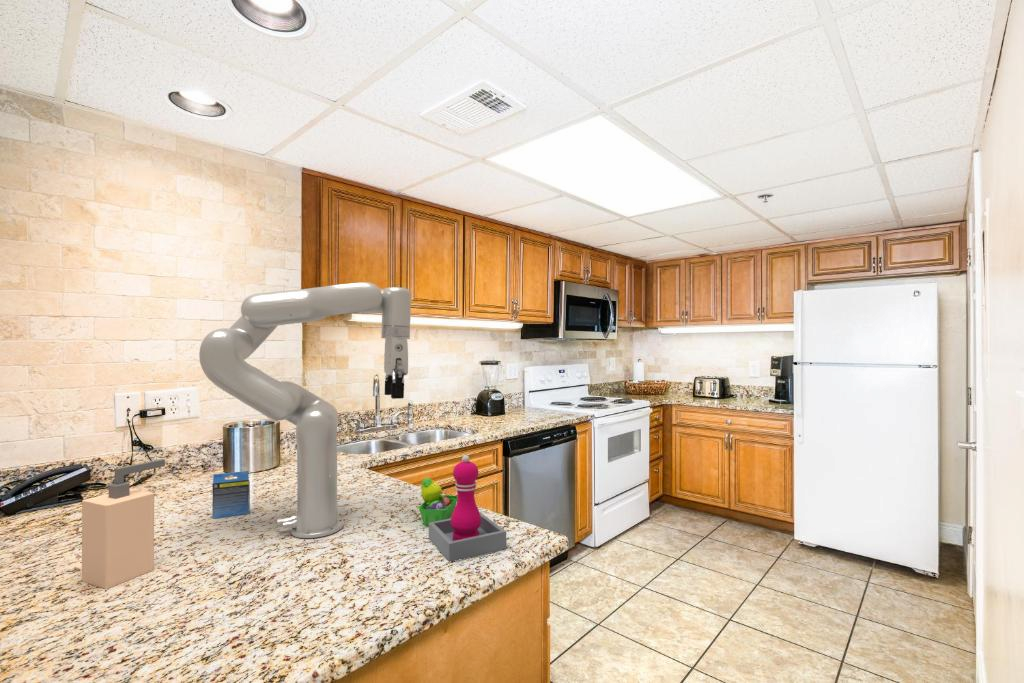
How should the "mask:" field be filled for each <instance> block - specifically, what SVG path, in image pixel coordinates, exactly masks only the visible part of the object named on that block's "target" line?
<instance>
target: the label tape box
mask: <svg viewBox="0 0 1024 683" xmlns="http://www.w3.org/2000/svg"><path fill="white" fill-rule="evenodd" d="M249 474H250V473H249V470H246V471H244V470H243V471H233V472H223V473H213V474H212V497H211V498H212V503H211V504H212V510H211V511H212V512H211V513H212V517H211V518H212V519H213V520H214V519H215V520H216V519H224V518H228V517H235V516H243V515H249V514H250V508H251V505H250V504H251V502H250V501H251V500H250V499H251V486H250V479H249V477H250V475H249ZM231 476H232V477H236V478H230V477H231ZM226 478H227V479H226ZM229 478H230V479H229Z"/></svg>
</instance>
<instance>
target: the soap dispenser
mask: <svg viewBox="0 0 1024 683" xmlns="http://www.w3.org/2000/svg"><path fill="white" fill-rule="evenodd" d="M165 466H166V460H165V459H164V458H160V459H155V460H151V461H150V460H149V461H145V462H141V463H135V464H130V465H126V466H122V467H118V468H114V480H113V481H114V482H113V483H110V484H108V493H105V494H102V495H98V496H94V497H89V498H86V499H82V501H81V510H82V511H81V582H82V583H83V582H84V583H86V584H89V585H93V586H96V587H99V588H101V589H103V590H104V589H105V590H108V589H111V588H113V587H115V586H118V585H120V584H123V583H126V582H127V581H130V580H133V579H135V578H138V577H140V576H142V575H144V574H147V573H150V572H152V571H154V570H155V492H151V491H145V490H142V489H141V490H140V489H135V488H130V482H126V481H125V480H124V479H125V476H127V475H132V474H136V473H141V472H145V471H149V470H154V469H158V468H159V469H160V468H163V467H165Z"/></svg>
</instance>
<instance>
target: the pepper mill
mask: <svg viewBox="0 0 1024 683" xmlns="http://www.w3.org/2000/svg"><path fill="white" fill-rule="evenodd" d="M461 460H462V461H460V462H458V463H457V464H456V465H455V466H454V467H453V471H452V473H453V474H452V476H453V479H454V480H455V481H456V482H455V483H454V485H455V488H454V489H455V490H456V492H457V496H458V497H457V502H456V506H455V509H454V511H453V513H452V516H451V518H450V519H451V526H452V528H453V529H454V530H455V531H454V532H453V541H456V540H461V539H465V538H470V537H474V536H479V531H478V530H477V529H478V528H479V527H480V525H481V516H480V513H481V512H480V511H479V508H478V506H477V504H476V501H475V491H476V489H477V481H476V480H477V479H478V477H479V468H478V466H477V464H475V463H474V462H472V461H470V456H469V455H466V454H464V455H462V458H461Z"/></svg>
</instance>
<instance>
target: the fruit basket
mask: <svg viewBox="0 0 1024 683" xmlns="http://www.w3.org/2000/svg"><path fill="white" fill-rule="evenodd" d="M420 489H421V491H420V492H421V498H422V500H423V502H422V504H420V505H419V506H418V510H419V512H420V515H421V520H422V522H423V523H422V524H423V525H426V526H425V527H429V523H430V522H435V521H440V520H445V519H451V516H452V513H453V511H454V509H455V506H456V504H457V497H458V495H453V494H452V495H449V494H448V495H447V494H441V493H442V492H443V490H442V487H441V486H440V485H439V483H436V482H435V480H433V479H431V478H430V477H427V478H423V479H422V481H421V484H420ZM427 525H428V526H427Z"/></svg>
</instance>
